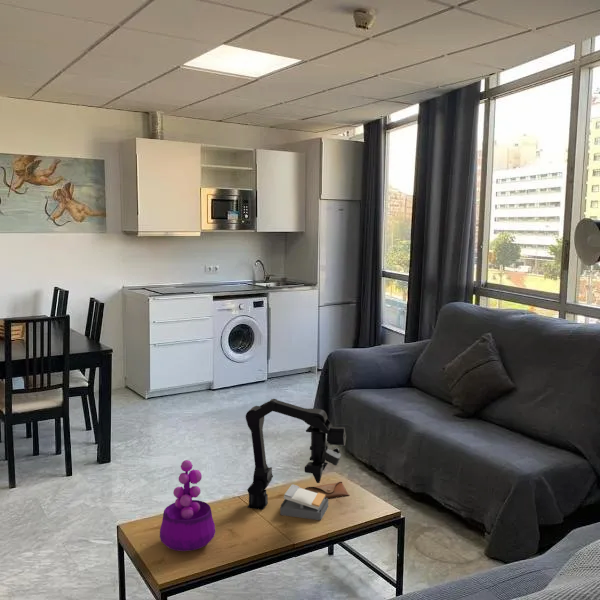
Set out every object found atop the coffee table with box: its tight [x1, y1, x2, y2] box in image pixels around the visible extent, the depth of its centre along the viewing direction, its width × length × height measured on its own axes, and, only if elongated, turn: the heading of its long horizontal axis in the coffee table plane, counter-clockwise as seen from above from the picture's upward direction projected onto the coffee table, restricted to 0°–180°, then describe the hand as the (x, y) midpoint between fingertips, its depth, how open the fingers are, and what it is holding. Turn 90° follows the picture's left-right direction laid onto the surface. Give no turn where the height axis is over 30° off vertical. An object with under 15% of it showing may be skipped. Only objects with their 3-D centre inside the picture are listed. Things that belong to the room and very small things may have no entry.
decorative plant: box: [159, 459, 216, 552], centre depth 207 cm, size 19×18×30 cm
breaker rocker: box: [283, 483, 325, 510], centre depth 234 cm, size 14×11×2 cm
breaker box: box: [279, 498, 329, 521], centre depth 234 cm, size 16×12×4 cm
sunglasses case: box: [304, 481, 351, 500], centre depth 249 cm, size 18×7×7 cm
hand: (318, 482), depth 232 cm, fingers closed
